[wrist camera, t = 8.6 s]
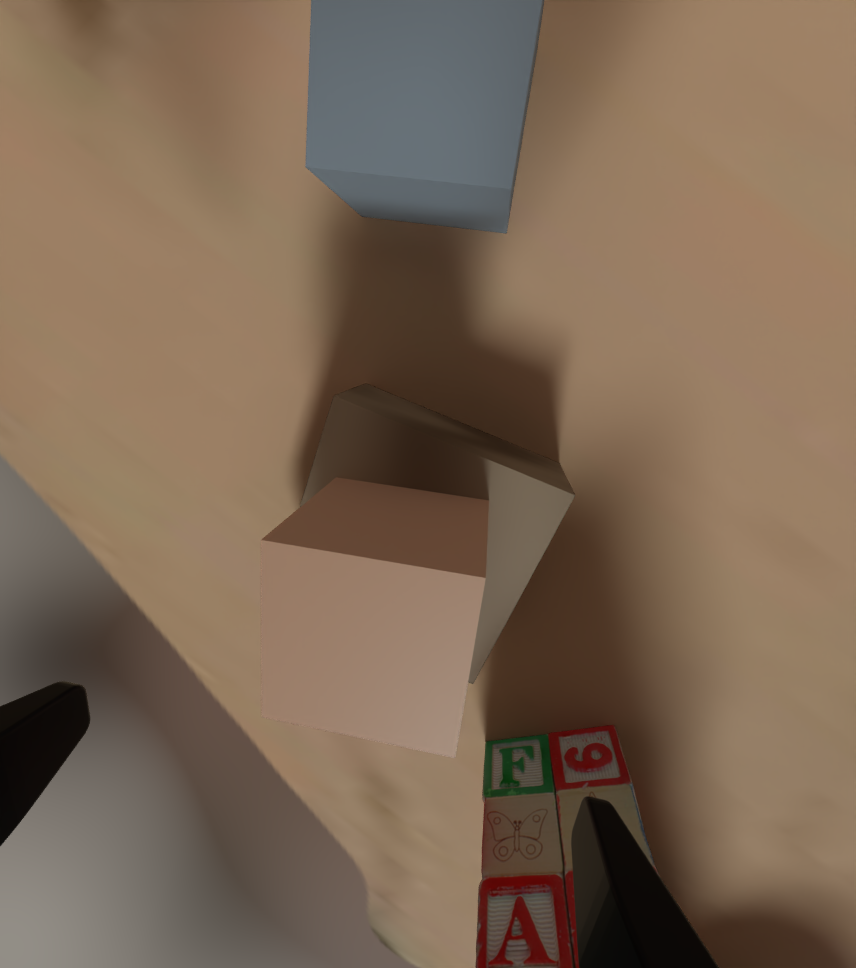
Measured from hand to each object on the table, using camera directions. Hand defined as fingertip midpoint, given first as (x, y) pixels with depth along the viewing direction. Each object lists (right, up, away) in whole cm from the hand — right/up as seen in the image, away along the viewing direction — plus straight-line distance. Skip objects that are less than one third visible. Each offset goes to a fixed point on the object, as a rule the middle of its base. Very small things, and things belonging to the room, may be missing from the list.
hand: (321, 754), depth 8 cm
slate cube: (+2, +16, +7) cm, 17 cm away
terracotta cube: (+1, +2, +7) cm, 8 cm away
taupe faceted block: (+2, +4, +11) cm, 12 cm away
